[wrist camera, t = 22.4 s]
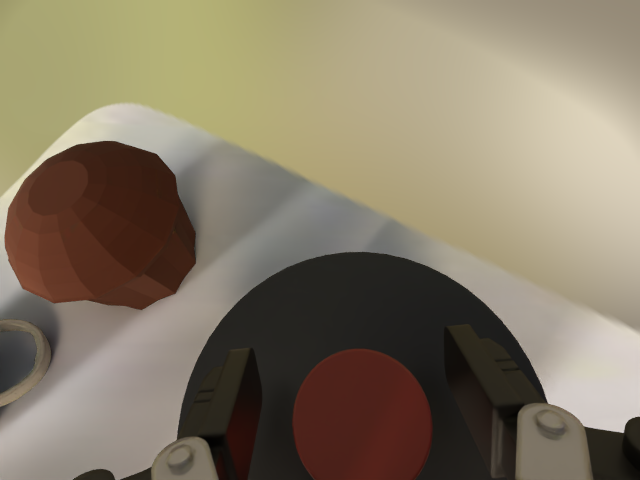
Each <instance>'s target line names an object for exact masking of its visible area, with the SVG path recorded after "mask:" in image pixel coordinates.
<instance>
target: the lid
mask: <svg viewBox="0 0 640 480" xmlns="http://www.w3.org/2000/svg"><path fill="white" fill-rule="evenodd" d="M465 324H469V325H470V326H471V327H472V329H473V330H474V331H475V333H476V334H477V336H478V337H479V339H484V338H490V339H491V340H493V341H494V342H496V343H497V344H499V345H501V346H502V347H503V348H504V349H505V350H506V352H507V353H508V354H509V355H510V357H511V358H512V361H514V362H515V363H516V365H517V366H518V367H519V370H521V371H522V372H523V374H524V375H525V376H526V377H527V379H528V380H529V381H530V383H531V384H532V385H533V387H534V388H535V389H536V390H537V392H538V393H539V394H540V396H541V397H542V398H543V399H544V401H545V402H546V403H547V400H546V397H545V394H544V391H543V388H542V386H541V383H540V381H539V379H538V377H537V375H536V373H535V371H534V369H533V367H532V365H531V363H530V361H529V359H528V358H527V356H526V354H525V353H524V351H523V350H522V348H521V346H520V345H519V343H518V342H517V340H516V339H515V337H514V336H513V335H512V333H511V332H510V331H509V330H508V328H507V327H506V326H505V325H504V323H503V322H502V321H501V320H500V319H499V318H498V317H497V316H496V315H495V314H494V313H493V311H492V310H491V309H490V308H489V307H488V306H487V305H486V304H485V303H484V302H482V301H481V300H480V299H479V298H477V297H476V296H475V295H474V294H472V293H471V292H470V291H469V290H468V289H466V288H465V287H463V286H462V285H460V284H459V283H457V282H456V281H454V280H452V279H451V278H449V277H448V276H446V275H444V274H442V273H440V272H438V271H436V270H434V269H432V268H430V267H428V266H425V265H422V264H420V263H417V262H414V261H411V260H408V259H405V258H400V257H396V256H392V255H387V254H379V253H369V252H345V253H337V254H330V255H324V256H320V257H316V258H313V259H309V260H305V261H303V262H300V263H298V264H295V265H293V266H290V267H287V268H286V269H284V270H282V271H280V272H278V273H276V274H274V275H273V276H271V277H269V278H268V279H266V280H265V281H263V282H262V283H260V284H259V285H258V286H256V287H255V288H253V289H252V290H251V291H250V292H249V293H247V294H246V295H245V296H244V297H243V298H242V299H241V300H240V301H239V302H237V303H236V304H235V306H234V307H233V308H232V309H231V310H230V311H229V312H228V313H227V315H226V316H225V317H224V318H223V319H222V320H221V322H220V323H219V325H218V326H217V327H216V329H215V330H214V332H213V333H212V335H211V336H210V337H209V339H208V341H207V343H206V345H205V346H204V348H203V350H202V352H201V354H200V356H199V357H198V360H197V362H196V364H195V367H194V369H193V372H192V374H191V377H190V379H189V382H188V385H187V389H186V393H185V396H184V400H183V403H182V408H181V414H180V420H179V426H178V434H177V438H178V436H179V433H180V431H181V429H182V426H183V424H184V422H185V419H186V417H187V415H188V413H189V410H190V408H191V406H192V404H193V403H194V399H195V396H196V394H197V393H198V389H199V387H200V385H201V383H202V380H203V378H204V377H205V376H206V375H207V374H208V373H209V372H210V371H211V370H212V369H213V368H214V367H220V366H223V365H224V362H225V360H226V357H227V354H228V352H229V350H233V349H243V348H253V349H254V352H255V356H256V361H257V366H258V371H259V376H260V380H261V385H262V408H261V413H260V418H259V423H258V428H257V434H256V439H255V444H254V449H253V454H252V459H251V464H250V469H249V474H248V480H507V478H506V477H500V478H492V477H491V475H490V473H489V471H488V469H487V467H486V465H485V462H484V460H483V458H482V456H481V454H480V452H479V450H478V448H477V445H476V443H475V441H474V439H473V437H472V435H471V433H470V430H469V428H468V426H467V424H466V422H465V420H464V418H463V415H462V413H461V411H460V409H459V407H458V405H457V403H456V400H455V398H454V396H453V394H452V392H451V390H450V388H449V385H448V382H447V379H446V374H445V365H444V328H445V327H446V326H455V325H465ZM547 404H548V403H547Z"/></svg>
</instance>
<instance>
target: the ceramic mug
mask: <svg viewBox="0 0 640 480" xmlns="http://www.w3.org/2000/svg"><path fill="white" fill-rule="evenodd" d="M13 330H16V331H25V332H29V333H31V334H32V335H33V337H34V339H35V342H36V346H37V354H36V357H35V360H34V361H35V364H34V367H33V370H32V371H31V373H30V374H29V375H28V376H26V377H25V378H24V379H23V380H22V381H21V382H20V383H18V384H16V385H15V386H13V387H11V388H10V389H8V390H7V391H5V392H2V393H0V407H1V406H4V405H6V404H8V403H11V402H13V401H15V400H17V399H19V398H20V397H21V396H23V395H24V394H25V393H27V392H28V391H30V390H31V389H32V388H33V387H34V386H36V385H37V384H38V383H39V381H40V380H41V379H42V378H43V376H44V375H45V373H46V371H47V369H48V366H49V364H50V359H51V350H50V345H49V343H48V341H47V339H46V337H45V336H44V334H43V332H42V331H41V329H39V327H37V326H35V325H34V324H32V323H30V322H27V321H22V320H17V319H2V320H0V332H4V331H13Z"/></svg>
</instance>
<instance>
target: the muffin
mask: <svg viewBox="0 0 640 480" xmlns="http://www.w3.org/2000/svg"><path fill="white" fill-rule="evenodd" d="M195 234H196V233H195V231H194V228H193V226H192V224H191V222H190V220H189V218H188V215H187V213H186V211H185V209H184V207H183V204H182V202H181V200H180V198H179V196H178V192H177V185H176V177H175V175H174V173H173V172H172V171H171V170H170V169H169V168H168V166H167V165H166V164H165V163H164V162H163V161H162V160H161V158H160V157H159V156H158V155H157V154H155V153H152V152H148V151H145V150H142V149H139V148H136V147H132V146H129V145H125V144H122V143H119V142H116V141H101V142H93V143H86V144H78V145H75V146H73V147H71V148H69V149H67V150H65V151H63V152H61V153H59V154H56V155H54V156H52V157H50V158H48V159H47V160H46V161H44V162H43V163H42V164H41V165H40V166H39V167H38V168H37V169H36V170H35V171H33V172H32V173H31V174H30V175H29V176H28V177H27V178H26V179H25V180H24V182H23V184H22V185H21V187H20V189H19V191H18V192H17V194H16V196H15V197H14V199H13V201H12V203H11V204H10V206H9V208H8V215H7V222H6V230H5V248H6V251H7V254H8V257H9V259H8V261H9V263H10V264H11V266H12V268H13V270H14V272H15V274H16V276H17V278H18V280H19V282H20V284H21V286H22V288H23V289H25V290H27V291H29V292H31V293H33V294H35V295H38V296H40V297H42V298H44V299H46V300H48V301H51V302H53V303H61V302H71V301H80V300H89V301H93V302H97V303H101V304H106V305H115V306H127V307H131V308H136V309H140V310H142V309H144V308H146V307H147V306H149V305H151V304H152V303H154V302H156V301H157V300H160V299H162V298H165V297H167V296H170V295H172V294H175V293H176V291H177V290H178V288H179V286H180V284H181V283H182V281H183V279H184V277H185V276H186V275H187V274H188V272H189V271H190V270H191V269H192V267H193V266H194V265H195V264H196V260H195V251H194V244H195Z"/></svg>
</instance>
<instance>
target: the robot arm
mask: <svg viewBox="0 0 640 480" xmlns="http://www.w3.org/2000/svg"><path fill="white" fill-rule="evenodd" d="M444 365H445V374H446V379H447V382H448V385H449V388H450V390H451V392H452V394H453V396H454V398H455V400H456V403H457V405H458V407H459V409H460V411H461V413H462V415H463V418H464V420H465V422H466V424H467V426H468V428H469V430H470V433H471V435H472V437H473V439H474V441H475V443H476V445H477V448H478V450H479V452H480V454H481V456H482V458H483V460H484V462H485V465H486V467H487V469H488V471H489V473H490V475H491V477H492V478H500V477H506V478H507V480H640V417H635V418H632V419H630V420H629V421H628V422H627V423H626V425H625V430H624V433H619V432H613V431H606V430H600V429H593V428H588V427H584V426H583V425H582V423H581V422H580V421H579V420H578V419H577V418H576V417H575V416H574V415H573V414H571V413H570V412H568V411H566V410H564V409H562V408H560V407H557V406H555V405H551V404H547V403H546V402H545V401H544V399H543V398H542V397H541V396H540V394H539V393H538V392H537V390H536V389H535V388H534V387H533V385H532V384H531V383H530V381H529V380H528V379H527V377H526V376H525V375H524V374H523V372H522V371H521V370H519V367H518V366H517V365H516V363H515V362H514V361H512V358H511V357H510V355H509V354H508V353H507V352H506V350H505V349H504V348H503V347H502V346H501V345H499V344H497V343H496V342H494V341H493V340H491V339H490V338H484V339H479V337H478V336H477V334H476V333H475V331H474V330H473V329H472V327H471V326H470V325H469V324H465V325H455V326H446V327H445V328H444ZM261 408H262V385H261V380H260V376H259V371H258V366H257V361H256V356H255V352H254V349H253V348H243V349H233V350H229V352H228V354H227V357H226V360H225V362H224V365H223V366H220V367H214V368H213V369H212V370H211V371H210V372H209V373H208V374H207V375H206V376H205V377H204V378H203V380H202V383H201V385H200V387H199V389H198V393H197V394H196V396H195V399H194V403H193V404H192V406H191V408H190V410H189V413H188V415H187V417H186V419H185V422H184V424H183V426H182V429H181V431H180V433H179V436H178V438H177V440H176V441H175V442H173V443H171V444H169V445H168V446H167V447H165V448H164V449H163V450H162V451H161V452H160V453H159V454H158V456H157V457H156V459H155V460H154V462H153V465H152V467H150V468H149V469H147V470H144V471H142V472H139V473H137V474H134V475H131V476H129V477H126V478H123V479H120V480H248V474H249V469H250V464H251V459H252V454H253V449H254V444H255V439H256V434H257V428H258V423H259V418H260V413H261ZM73 480H115V478H114V475H113V474H112V473H111V472H110V471H108V470H105V469H97V470H92V471H89V472H86V473H84V474H82V475H80V476H78V477H76V478H74V479H73Z"/></svg>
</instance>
